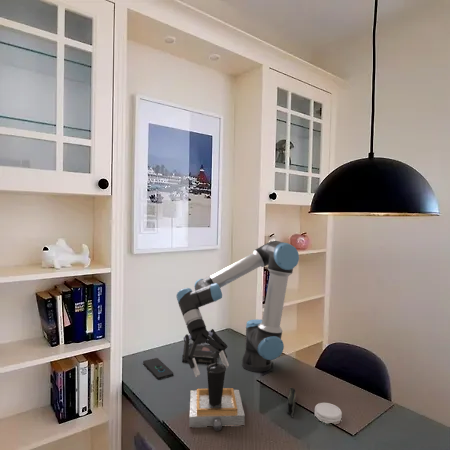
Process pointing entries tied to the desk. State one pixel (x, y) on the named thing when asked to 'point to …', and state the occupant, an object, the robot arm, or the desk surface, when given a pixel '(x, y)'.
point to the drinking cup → (215, 382)
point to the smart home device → (158, 368)
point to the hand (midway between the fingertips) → (213, 371)
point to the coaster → (328, 412)
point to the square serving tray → (216, 409)
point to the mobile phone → (291, 401)
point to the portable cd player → (203, 354)
